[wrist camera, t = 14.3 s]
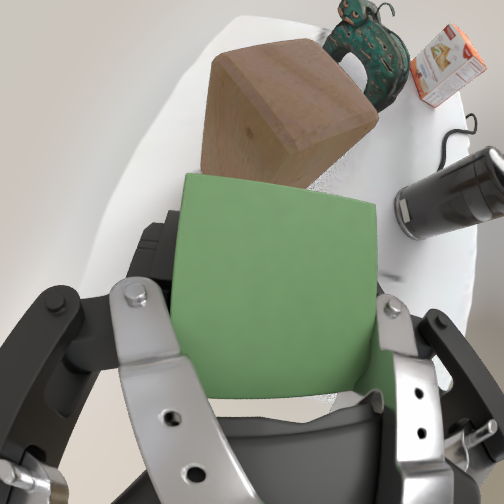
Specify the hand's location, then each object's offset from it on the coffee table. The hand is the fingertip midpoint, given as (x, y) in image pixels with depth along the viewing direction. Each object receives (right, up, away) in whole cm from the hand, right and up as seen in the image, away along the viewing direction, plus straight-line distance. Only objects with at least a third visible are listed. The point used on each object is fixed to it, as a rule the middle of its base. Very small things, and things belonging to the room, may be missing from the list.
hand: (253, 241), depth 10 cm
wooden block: (0, +9, +25) cm, 27 cm away
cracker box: (+43, +42, +39) cm, 72 cm away
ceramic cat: (+18, +33, +33) cm, 50 cm away
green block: (-1, -2, +4) cm, 4 cm away
